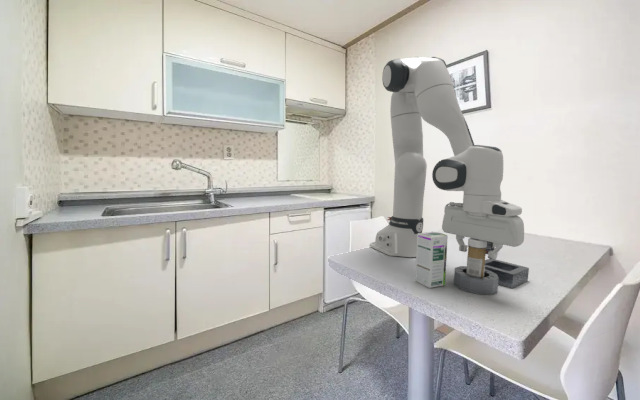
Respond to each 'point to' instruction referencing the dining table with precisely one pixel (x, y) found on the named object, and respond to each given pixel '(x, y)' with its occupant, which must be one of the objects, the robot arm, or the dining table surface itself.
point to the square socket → (507, 272)
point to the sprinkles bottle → (476, 257)
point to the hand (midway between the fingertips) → (476, 254)
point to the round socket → (476, 281)
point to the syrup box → (431, 259)
